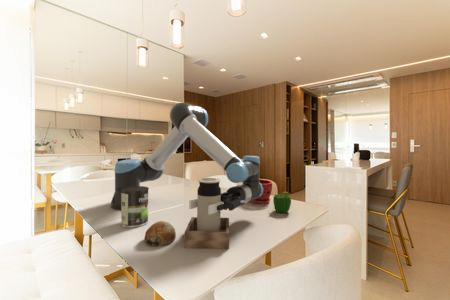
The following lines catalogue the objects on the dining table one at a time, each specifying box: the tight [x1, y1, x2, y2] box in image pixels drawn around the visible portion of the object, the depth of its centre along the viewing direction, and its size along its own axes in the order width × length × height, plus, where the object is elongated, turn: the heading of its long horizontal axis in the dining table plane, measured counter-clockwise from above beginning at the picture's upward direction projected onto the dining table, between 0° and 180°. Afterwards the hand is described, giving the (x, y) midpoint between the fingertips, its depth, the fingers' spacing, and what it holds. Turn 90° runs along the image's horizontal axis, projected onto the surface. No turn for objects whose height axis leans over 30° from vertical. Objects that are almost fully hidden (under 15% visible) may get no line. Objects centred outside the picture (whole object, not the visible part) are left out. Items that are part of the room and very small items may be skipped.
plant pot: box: [251, 178, 273, 205], centre depth 124 cm, size 13×13×12 cm
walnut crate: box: [183, 216, 230, 250], centre depth 76 cm, size 14×14×5 cm
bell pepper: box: [273, 191, 292, 214], centre depth 107 cm, size 8×8×10 cm
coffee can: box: [120, 185, 149, 229], centre depth 89 cm, size 10×10×14 cm
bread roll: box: [144, 220, 177, 247], centre depth 74 cm, size 10×10×8 cm
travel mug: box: [196, 177, 222, 232], centre depth 76 cm, size 8×8×18 cm
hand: (199, 207), depth 72 cm, fingers closed on travel mug, 8 cm apart
